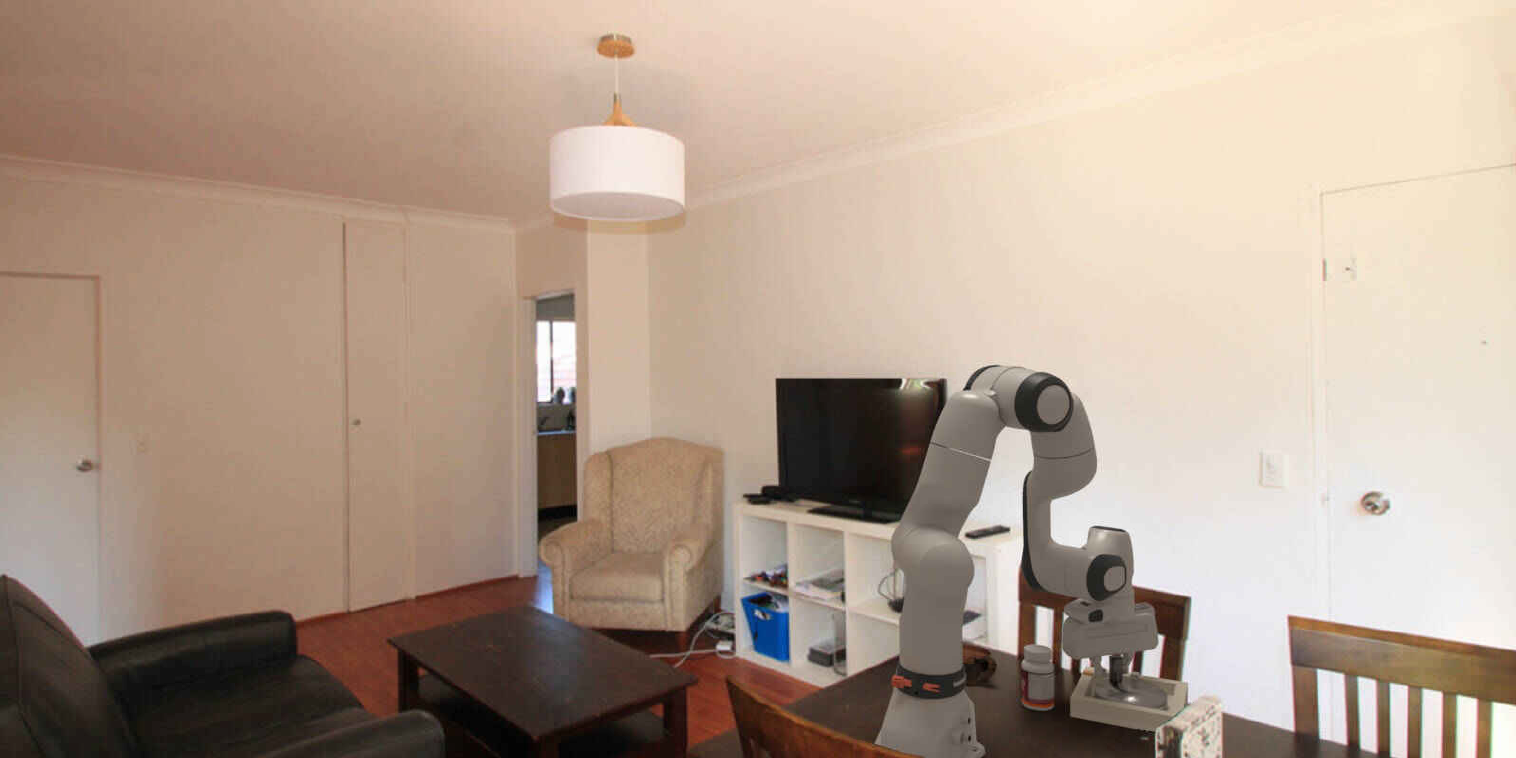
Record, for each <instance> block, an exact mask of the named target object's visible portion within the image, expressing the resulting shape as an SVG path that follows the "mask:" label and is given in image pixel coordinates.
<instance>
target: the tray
mask: <svg viewBox="0 0 1516 758" xmlns="http://www.w3.org/2000/svg"><path fill="white" fill-rule="evenodd" d="M1122 678H1125V679H1133V680H1139V681H1143V682H1147V683H1150V684H1153V685H1155V686H1157V687H1159V688H1161V689H1163V690H1164V691H1165V692H1166V693H1167V704H1168V706H1167V709H1166V710H1165V711H1163V710H1158V709H1152V708H1147V707H1141V706H1135V705H1130V704H1124V703H1119V702H1113V701H1107V700H1102V699H1096V698H1095V697H1094V685H1095V683H1096V682H1098V681H1100V680H1103V679H1109V669H1106V677H1102V678H1098V677H1096V676H1095V674H1094V666H1085V668H1084V669H1083V671H1082V674H1081V675H1080V678H1079V679H1078V682H1077V684H1076V685H1075V688H1074V690H1073V691H1072V694H1070V695H1071V696H1070V698H1069V703H1070V704H1069V705H1070V706H1069V707H1070V709H1069V710H1070V711H1069V713H1070V715H1069V716H1070V717H1071V718H1076V719H1081V720H1086V721H1092V722H1098V723H1102V724H1108V725H1112V726H1118V727H1122V728H1127V729H1133V730H1138V729H1140V730H1139V731H1143V730H1146V731H1145V732H1148V731H1153V732H1154V731H1155V730H1156V728H1157V727H1158V726H1159V725H1161V724H1162V723H1164V722H1167V721H1168V720H1170V719H1171V718H1173V717H1174V715H1176V714H1177V713H1178V712H1179V711H1181V710H1182V709H1183V708H1184V705H1185V704H1187V705H1188V701H1189V700H1188V699H1189V690H1188V689H1189V688H1188V687H1189V683H1188V682H1186V681H1180V680H1174V679H1168V678H1167V679H1166V678H1161V677H1156V676H1149V675H1143V674H1140V672H1137V671H1131V672H1129V673H1128V674H1123V675H1122ZM1153 732H1152V733H1153Z"/></svg>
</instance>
